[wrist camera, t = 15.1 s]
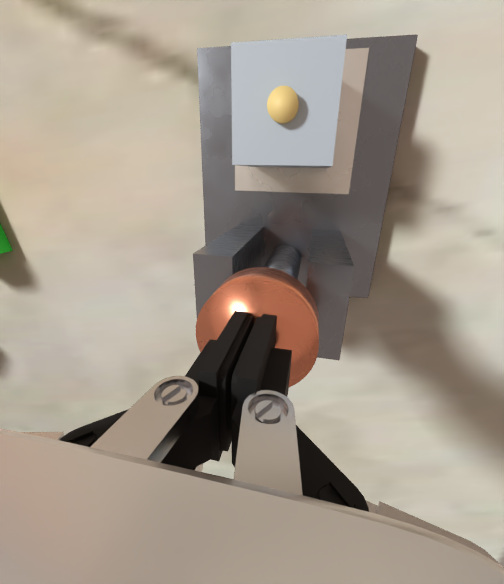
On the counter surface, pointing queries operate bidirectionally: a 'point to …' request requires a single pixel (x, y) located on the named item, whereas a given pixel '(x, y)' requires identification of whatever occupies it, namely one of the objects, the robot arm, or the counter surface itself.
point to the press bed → (305, 185)
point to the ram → (268, 308)
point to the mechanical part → (4, 242)
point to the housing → (286, 101)
